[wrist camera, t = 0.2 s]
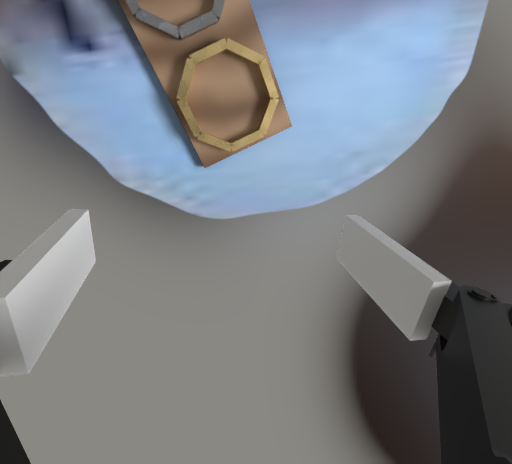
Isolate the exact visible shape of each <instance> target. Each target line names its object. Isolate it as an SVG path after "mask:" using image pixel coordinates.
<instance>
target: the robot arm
mask: <svg viewBox="0 0 512 464" xmlns="http://www.w3.org/2000/svg"><path fill="white" fill-rule="evenodd" d="M336 259H337V260H338V261H339V262H340V263H341V264H342V265H343V267H344V268H345V269H346V270H347V271H348V272H349V273H350V274H351V275H352V277H353V278H354V279H355V280H356V281H357V282H358V283H359V284H360V285H361V287H362V288H363V289H364V290H365V291H366V292H367V293H368V294H369V295H370V297H371V298H372V299H373V300H374V301H375V302H376V303H377V304H378V305H379V307H380V308H381V309H382V310H383V311H384V312H385V313H386V314H387V315H388V317H389V318H390V319H391V320H392V321H393V322H394V323H395V324H396V326H397V327H398V328H399V329H400V330H401V331H402V332H403V333H404V334H405V335H406V337H407V338H408V339H409V340H410V341H411V340H423V339H427V336H428V334H429V332H430V330H431V327H433V328H434V329H435V330H436V331H437V332H438V333H439V334H438V336H437V338H436V341H435V343H434V345H433V347H432V350H431V352H430V354H429V356H430V357H432V356H433V354H435V353H436V365H437V384H438V408H439V429H440V449H441V450H440V451H441V464H512V304H507V303H501V301H500V300H499V299H498V298H497V297H496V296H495V295H493V294H491V293H490V292H488V291H486V290H483V289H480V288H478V287H474V286H468V285H463V286H458V285H457V284H456V283H454V282H453V281H451V280H450V279H448V278H447V277H446V276H444V275H443V274H441V273H440V272H438V271H437V270H436V269H434V268H433V267H431V266H430V265H429V264H427V263H426V262H424V261H423V260H422V259H419V258H418V257H417V256H415V255H414V254H412V253H411V252H410V251H408V250H407V249H405V248H404V247H403V246H401V245H400V244H398V243H397V242H395V241H394V240H393V239H391V238H390V237H388V236H387V235H385V234H384V233H383V232H381V231H380V230H378V229H377V228H376V227H374V226H373V225H371V224H370V223H369V222H367V221H366V220H364V219H363V218H361V217H360V216H358V215H346V217H345V221H344V225H343V229H342V234H341V238H340V242H339V246H338V251H337V255H336ZM95 262H96V260H95V253H94V246H93V239H92V232H91V226H90V218H89V212H88V210H87V209H69V210H68V211H67V212H66V213H65V214H64V215H63V216H62V217H60V218H59V219H58V220H57V221H56V222H55V223H54V224H53V225H51V226H50V227H49V228H48V229H47V230H46V231H45V232H44V233H43V234H42V235H40V236H39V237H38V238H37V239H36V240H35V241H34V242H33V243H31V244H30V245H29V246H28V247H27V248H26V249H25V250H24V251H23V252H21V253H20V254H19V255H18V256H17V257H16V258H15V259H14V260H5V261H2V262H0V377H2V376H14V375H25V374H29V373H30V371H31V369H32V368H33V366H34V364H35V363H36V361H37V359H38V358H39V356H40V354H41V353H42V351H43V349H44V348H45V346H46V344H47V343H48V341H49V339H50V338H51V336H52V334H53V332H54V331H55V329H56V327H57V326H58V324H59V322H60V321H61V319H62V317H63V316H64V314H65V312H66V311H67V309H68V307H69V306H70V304H71V302H72V301H73V299H74V297H75V296H76V294H77V292H78V290H79V289H80V287H81V285H82V284H83V282H84V280H85V279H86V277H87V275H88V274H89V272H90V270H91V268H92V267H93V265H94V264H95ZM0 464H31V463H30V461H29V459H28V457H27V455H26V453H25V451H24V449H23V447H22V444H21V442H20V440H19V438H18V436H17V434H16V432H15V430H14V428H13V426H12V423H11V421H10V419H9V417H8V415H7V413H6V411H5V409H4V407H3V405H2V403H1V400H0Z"/></svg>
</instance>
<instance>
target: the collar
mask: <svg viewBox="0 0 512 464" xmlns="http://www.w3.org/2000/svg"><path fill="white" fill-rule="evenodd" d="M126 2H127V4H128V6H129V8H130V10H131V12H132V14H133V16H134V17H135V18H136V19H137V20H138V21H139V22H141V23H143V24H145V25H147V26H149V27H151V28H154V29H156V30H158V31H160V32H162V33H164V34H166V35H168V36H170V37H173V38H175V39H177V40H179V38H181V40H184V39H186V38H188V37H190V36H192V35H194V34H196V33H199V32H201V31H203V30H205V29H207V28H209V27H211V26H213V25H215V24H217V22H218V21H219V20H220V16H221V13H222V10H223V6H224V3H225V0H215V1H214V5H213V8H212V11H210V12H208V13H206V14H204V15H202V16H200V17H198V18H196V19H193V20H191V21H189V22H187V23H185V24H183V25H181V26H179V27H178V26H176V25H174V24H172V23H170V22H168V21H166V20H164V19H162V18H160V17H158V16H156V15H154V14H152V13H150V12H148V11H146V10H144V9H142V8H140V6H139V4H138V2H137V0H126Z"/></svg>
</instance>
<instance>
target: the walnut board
mask: <svg viewBox="0 0 512 464" xmlns="http://www.w3.org/2000/svg"><path fill="white" fill-rule="evenodd" d="M118 1H119V3H120V5H121V7H122V9H123V11H124V13H125V15H126V17H127V19H128V20H129V22H130V24H131V26H132V28H133V30H134V32H135V34H136V36H137V38H138V40H139V42H140V44H141V46H142V48H143V49H144V51H145V53H146V55H147V57H148V59H149V61H150V63H151V65H152V67H153V69H154V71H155V73H156V75H157V77H158V78H159V80H160V82H161V84H162V86H163V88H164V90H165V92H166V94H167V96H168V98H169V100H170V102H171V104H172V105H173V107H174V109H175V111H176V113H177V115H178V117H179V119H180V121H181V123H182V125H183V127H184V129H185V131H186V133H187V134H188V136H189V138H190V140H191V142H192V144H193V146H194V148H195V150H196V152H197V154H198V156H199V158H200V160H201V162H202V163H203V165H204V167H205V168H206V167H208V166H210V165H213V164H215V163H217V162H219V161H221V160H223V159H225V158H227V157H229V156H231V155H233V154H235V153H237V152H240V151H242V150H244V149H246V148H248V147H250V146H252V145H254V144H256V143H258V142H260V141H262V140H264V139H266V138H269V137H271V136H273V135H275V134H277V133H279V132H281V131H283V130H285V129H287V128H289V127H291V126H292V125H291V122H290V119H289V116H288V113H287V110H286V107H285V104H284V101H283V98H282V95H281V92H280V90H279V87H278V84H277V81H276V78H275V75H274V72H273V69H272V66H271V63H270V60H269V57H268V54H267V51H266V48H265V45H264V43H263V40H262V37H261V34H260V31H259V28H258V25H257V22H256V19H255V16H254V13H253V10H252V7H251V4H250V1H249V0H225V3H224V6H223V10H222V13H221V16H220V20H219V21H218V22H217V24H215V25H213V26H211V27H209V28H207V29H205V30H203V31H201V32H199V33H196V34H194V35H192V36H190V37H188V38H186V39H184V40H181V38H179V40H177V39H175V38H173V37H170V36H168V35H166V34H164V33H162V32H160V31H158V30H156V29H154V28H151V27H149V26H147V25H145V24H143V23H141V22H139V21H138V20H137V19H136V18H135V17H134V16H133V14H132V12H131V10H130V8H129V6H128V4H127V2H126V0H118ZM214 1H215V0H137V2H138V4H139V6H140V8H142V9H144V10H146V11H148V12H150V13H152V14H154V15H156V16H158V17H160V18H162V19H164V20H166V21H168V22H170V23H172V24H174V25H176V26H178V27H179V26H181V25H183V24H185V23H187V22H189V21H191V20H193V19H196V18H198V17H200V16H202V15H204V14H206V13H208V12H210V11H212V8H213V5H214ZM224 38H225V39H226V41H227V39H228V38H229V39H231V40H233V41H235V42H237V43H239V44H241V45H243V46H245V47H247V48H249V49H251V50H253V51H255V52H257V53H259V54H261V55H263V56H264V57H263V60H264V59H266V61H267V64H268V66H269V69H270V72H271V75H272V78H273V81H274V84H275V87H276V90H277V93H278V95H279V97H278V98H276V99H278V100H279V101H278V104H277V106H276V109H275V112H274V114H273V117H272V119H271V122H270V125H269V127H268V130H267V133H266V135H265V134H263V136H264V137H262V138H260V139H258V140H256V141H254V142H252V143H250V144H248V145H246V146H244V147H242V148H240V149H237V150H235V151H232V149H231V152H230V151H227V150H224V149H222V148H219V147H216V146H214V145H211V144H208V143H206V142H203V141H200V140H198V139H197V137H195V136H194V135H193V133H192V131H191V129H190V127H189V125H188V123H187V121H186V119H185V117H184V115H183V113H182V111H181V109H180V107H179V105H178V103H177V101H178V100H180V99H177V98H176V97H177V94H178V90H179V86H180V83H181V79H182V75H183V71H184V68H185V64H186V60H187V58H189V59H190V57H189V55H190V54H193V53H195V52H197V51H199V50H201V49H203V48H205V47H207V46H209V45H211V44H213V43H215V42H217V41H219V40H222V39H224ZM267 100H268V97H267V94H266V91H265V88H264V86H263V83H262V80H261V77H260V75H259V72H258V69H257V66H256V65H254V64H252V63H250V62H248V61H246V60H244V59H242V58H240V57H238V56H235V55H233V54H231V53H229V52H227V51H224V52H222V53H220V54H218V55H216V56H213V57H211V58H209V59H207V60H205V61H203V62H201V63H199V64H197V65H195V68H194V72H193V75H192V79H191V82H190V86H189V90H188V93H187V97H186V101H187V103H188V105H189V107H190V109H191V111H192V113H193V116H194V118H195V120H196V122H197V124H198V126H199V128H200V130H201V131H203V132H205V133H208V134H211V135H213V136H216V137H218V138H221V139H224V140H226V141H229V142H231V141H233V140H235V139H237V138H239V137H241V136H243V135H246V134H248V133H250V132H252V131H254V130H256V129H257V127H258V125H259V122H260V119H261V117H262V114H263V111H264V108H265V106H266V103H267Z"/></svg>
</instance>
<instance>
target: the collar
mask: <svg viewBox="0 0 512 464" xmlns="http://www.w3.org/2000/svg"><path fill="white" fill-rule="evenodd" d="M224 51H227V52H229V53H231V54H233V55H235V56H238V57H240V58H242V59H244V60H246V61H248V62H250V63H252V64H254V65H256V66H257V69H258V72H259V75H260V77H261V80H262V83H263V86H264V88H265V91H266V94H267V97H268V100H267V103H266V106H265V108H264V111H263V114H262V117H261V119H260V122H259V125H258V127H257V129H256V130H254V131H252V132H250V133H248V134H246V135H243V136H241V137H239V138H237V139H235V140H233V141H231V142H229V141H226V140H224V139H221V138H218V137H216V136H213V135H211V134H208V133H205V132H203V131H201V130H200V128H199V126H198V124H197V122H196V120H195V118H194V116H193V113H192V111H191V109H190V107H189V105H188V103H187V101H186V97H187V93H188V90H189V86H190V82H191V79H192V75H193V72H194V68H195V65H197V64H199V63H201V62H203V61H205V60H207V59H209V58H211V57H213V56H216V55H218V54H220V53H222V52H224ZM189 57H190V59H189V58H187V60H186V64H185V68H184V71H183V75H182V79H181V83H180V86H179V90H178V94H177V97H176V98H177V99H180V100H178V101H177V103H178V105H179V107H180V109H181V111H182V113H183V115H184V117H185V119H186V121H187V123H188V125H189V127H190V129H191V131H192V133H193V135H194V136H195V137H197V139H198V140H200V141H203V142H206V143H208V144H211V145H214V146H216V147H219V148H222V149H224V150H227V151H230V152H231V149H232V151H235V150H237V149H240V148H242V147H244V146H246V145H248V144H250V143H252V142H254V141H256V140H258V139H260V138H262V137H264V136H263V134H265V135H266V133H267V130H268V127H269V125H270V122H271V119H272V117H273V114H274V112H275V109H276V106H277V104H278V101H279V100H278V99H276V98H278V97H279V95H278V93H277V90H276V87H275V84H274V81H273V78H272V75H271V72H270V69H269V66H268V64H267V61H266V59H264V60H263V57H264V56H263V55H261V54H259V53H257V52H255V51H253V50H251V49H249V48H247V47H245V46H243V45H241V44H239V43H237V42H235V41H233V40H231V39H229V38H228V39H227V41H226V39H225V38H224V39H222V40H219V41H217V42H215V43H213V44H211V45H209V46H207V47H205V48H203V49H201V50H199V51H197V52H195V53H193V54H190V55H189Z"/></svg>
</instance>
